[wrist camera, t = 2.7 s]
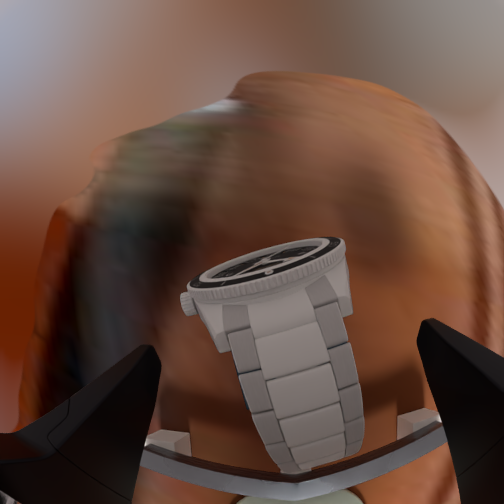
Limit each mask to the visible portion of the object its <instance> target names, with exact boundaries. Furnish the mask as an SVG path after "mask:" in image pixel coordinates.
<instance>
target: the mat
mask: <svg viewBox="0 0 504 504" xmlns="http://www.w3.org/2000/svg"><path fill="white" fill-rule="evenodd" d="M236 504H363V502H362V501H361V500H360V499H359V497H358V496H356V495H355V494H354V493H353V492H351V491H349V490H348V489H346V488H345V489H342V490H338V491H335V492H331V493H328V494H324V495H320V496H316V497H312V498H308V499H303V500H299V501H289V500H277V499H267V498H259V497H252V496H245V497H244V498H242V499H241V500H240V501H238V502H237V503H236Z"/></svg>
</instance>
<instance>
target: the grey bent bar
mask: <svg viewBox="0 0 504 504" xmlns="http://www.w3.org/2000/svg"><path fill="white" fill-rule="evenodd" d="M446 442H447V438H446V435H445V431H444V428H443V425H442V422H439V421H434V422H432V423H430V424H428V425H427V426H425V427H423V428H421V429H419V430H417V431H415V432H413V433H411V434H409V435H407V436H405V437H403V438H401V439H399V440H397V441H395V442H392V443H390V444H388V445H386V446H383V447H381V448H378V449H376V450H373V451H371V452H368V453H366V454H363V455H360V456H358V457H355V458H352V459H349V460H346V461H343V462H340V463H337V464H333V465H330V466H326V467H323V468H319V469H315V470H312V471H308V472H303V473H299V474H287V473H276V472H267V471H259V470H252V469H246V468H240V467H234V466H229V465H224V464H220V463H215V462H211V461H207V460H203V459H199V458H195V457H191V456H188V455H184V454H181V453H178V452H174V451H171V450H168V449H165V448H162V447H159V446H156V445H154V444H151V443H150V444H148V445H146V446H144V450H143V454H142V458H141V462H140V466H143V467H145V468H148V469H150V470H153V471H155V472H158V473H161V474H164V475H167V476H169V477H172V478H175V479H179V480H182V481H185V482H188V483H192V484H195V485H199V486H203V487H207V488H211V489H215V490H220V491H224V492H229V493H234V494H240V495H246V496H252V497H259V498H267V499H277V500H289V501H299V500H303V499H308V498H312V497H316V496H320V495H324V494H328V493H331V492H335V491H338V490H342V489H345V488H348V487H351V486H354V485H357V484H360V483H363V482H365V481H368V480H371V479H373V478H376V477H378V476H381V475H383V474H386V473H388V472H390V471H392V470H395V469H397V468H399V467H401V466H403V465H405V464H408V463H410V462H412V461H414V460H416V459H417V458H419V457H421V456H423V455H425V454H427V453H429V452H430V451H432V450H434V449H436V448H437V447H439V446H441V445H442V444H444V443H446Z"/></svg>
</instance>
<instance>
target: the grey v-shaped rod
mask: <svg viewBox="0 0 504 504" xmlns="http://www.w3.org/2000/svg"><path fill="white" fill-rule="evenodd" d="M434 421H439V422H441V419H440V415H439V412H437V411H433V410H430V409H427V408H422V409H419V410H416V411H412V412H409V413H406V414H402V415H399V416H397V440H399V439H401V438H403V437H405V436H407V435H409V434H411V433H413V432H415V431H417V430H419V429H421V428H423V427H425V426H427V425H428V424H430V423H432V422H434ZM150 443H151V444H154V445H156V446H159V447H162V448H165V449H168V450H171V451H174V452H178V453H181V454H184V455H188V456H191V457H192V454H191V444H190V433H186V432H177V431H169V430H162V429H161V430H159V431H157V432H155V433H152V434H150V435H148V436H147V438H146V442H145V446H146V445H148V444H150ZM308 471H311V468H308V469H304V470H303V469H302V470H300V471H296V472H292V473H287V474H299V473H303V472H308ZM280 473H286V472H284V471H282V470H281V471H280Z"/></svg>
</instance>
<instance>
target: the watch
mask: <svg viewBox="0 0 504 504" xmlns="http://www.w3.org/2000/svg"><path fill="white" fill-rule="evenodd" d="M345 251H346V246H345V242H344V240H343V239H341V238H336V237H319V238H312V239H305V240H299V241H294V242H289V243H285V244H281V245H277V246H273V247H269V248H265V249H262V250H259V251H255V252H252V253H249V254H246V255H243V256H240V257H238V258H235V259H232V260H230V261H227V262H225V263H222V264H220V265H218V266H215V267H213V268H211V269H209V270H207V271H205V272H203V273H201V274H199V275H198V276H196V277H195V278H194V279H192V280H191V281H190V282H189V283H188V284H187V290H188V292H184V293H181V295H180V296H181V297H180V301H181V306H182V309H183V311H184V313H185V314H186V315H187V316H191V315H195V314H199V316H200V318H201V320H202V321H203V322H204V324H205V325H206V327H207V329H208V331H209V333H210V335H211V337H212V339H213V341H214V344H215V346H216V348H217V349H218V351H219V353H223V352H228V351H231V352H232V356H233V360H234V364H235V367H236V371H237V375H238V379H239V382H240V386H241V390H242V393H243V397H244V400H245V404H246V408H247V410H249V409H250V411H251V413H252V418H253V421H254V423H255V426H256V428H257V430H258V432H259V434H260V437H261V439H262V441H263V443H264V444H265V448H266V450H267V452H268V453H269V455H270V457H271V458H272V460H273V461H274V462H275V464H277V465H278V467H279V468H280V469H281V470H282V471H284V472H286V473H292V472H296V471H300V470H302V469H303V470H304V469H308V468H312V467H315V466H319V465H322V464H326V463H329V462H332V461H335V460H339V459H342V458H344V457H347V456H350V455H353V454H356V453H358V452H359V450H360V449H361V446H362V442H363V438H364V416H363V402H362V394H361V387H360V384H359V383H358V375H357V370H356V365H355V360H354V356H353V352H352V348H351V344H350V343H347V341H348V336H347V332H346V329H345V325H344V322H343V319H342V318H343V317H346V316H348V315H351V314H353V306H352V299H351V292H350V286H349V271H348V266H347V262H346V257H345V254H344V253H345Z"/></svg>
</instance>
